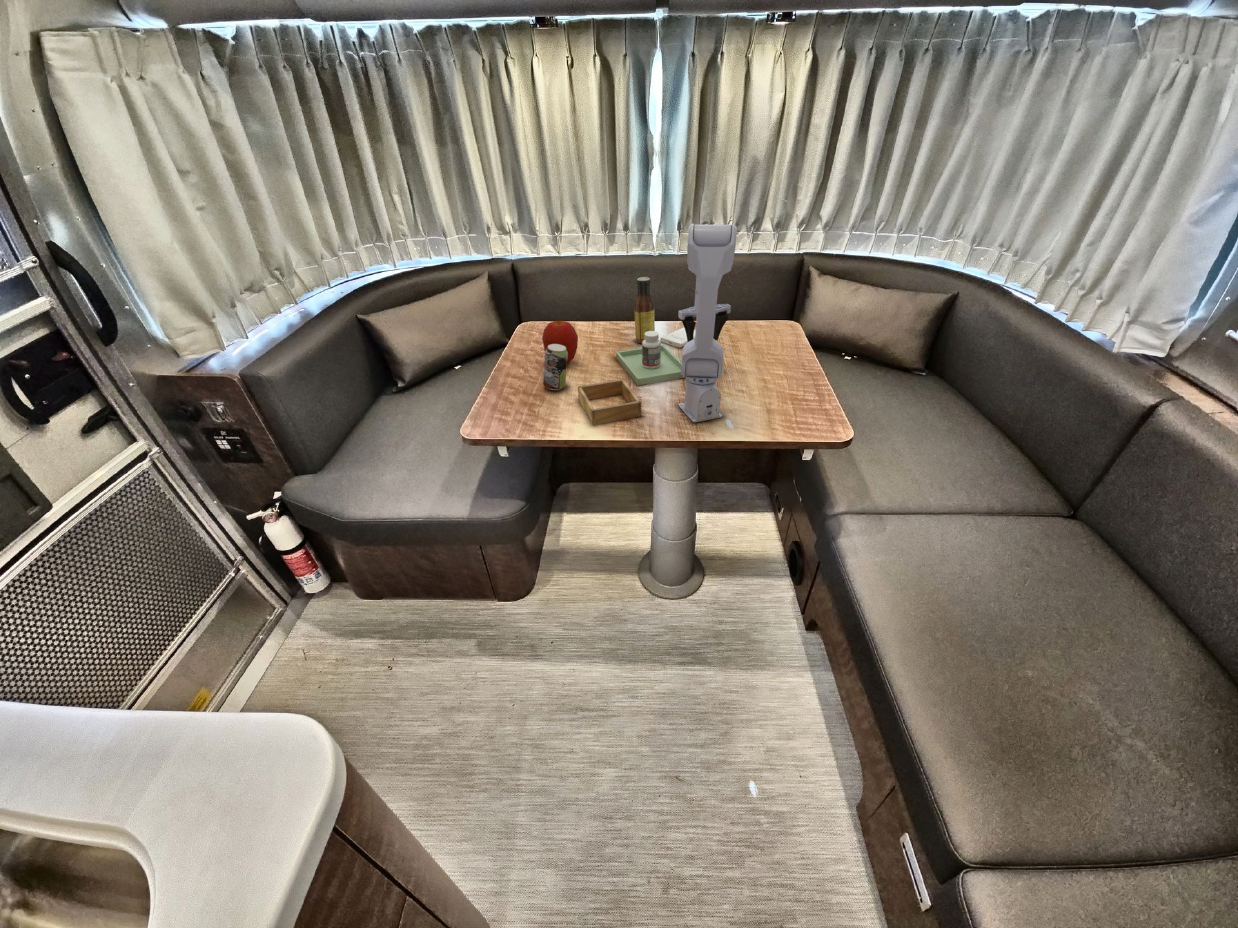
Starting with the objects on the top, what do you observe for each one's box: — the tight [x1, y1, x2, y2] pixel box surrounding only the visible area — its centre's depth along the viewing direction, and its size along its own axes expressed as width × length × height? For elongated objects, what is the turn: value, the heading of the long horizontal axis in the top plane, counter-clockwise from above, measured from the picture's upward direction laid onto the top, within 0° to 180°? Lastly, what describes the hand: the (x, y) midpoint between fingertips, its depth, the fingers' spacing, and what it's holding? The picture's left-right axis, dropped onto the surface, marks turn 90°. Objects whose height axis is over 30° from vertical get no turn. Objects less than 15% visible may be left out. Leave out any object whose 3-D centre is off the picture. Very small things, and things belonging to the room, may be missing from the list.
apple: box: [541, 319, 579, 365], centre depth 156 cm, size 10×10×14 cm
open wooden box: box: [577, 378, 642, 426], centre depth 136 cm, size 14×13×4 cm
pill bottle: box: [641, 330, 662, 369], centre depth 153 cm, size 5×5×10 cm
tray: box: [615, 344, 686, 386], centre depth 156 cm, size 20×16×2 cm
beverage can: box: [542, 344, 568, 391], centre depth 143 cm, size 6×7×12 cm
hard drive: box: [660, 326, 696, 349], centre depth 172 cm, size 2×8×12 cm
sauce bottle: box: [633, 276, 656, 345], centre depth 166 cm, size 7×6×20 cm
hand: (702, 340), depth 147 cm, fingers open, 7 cm apart
